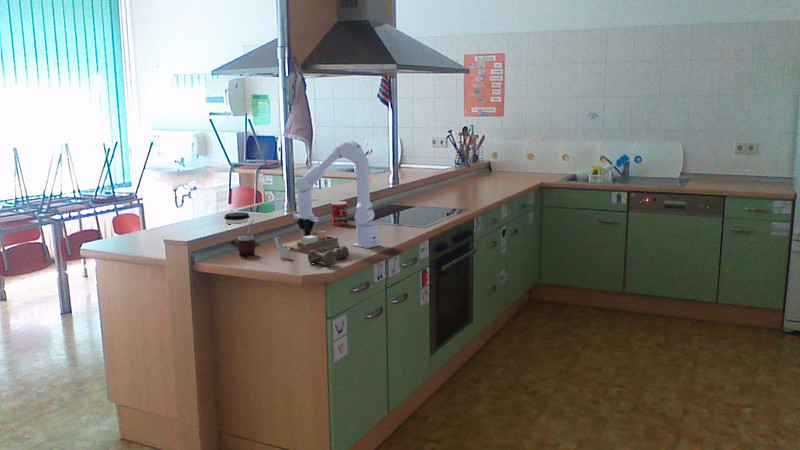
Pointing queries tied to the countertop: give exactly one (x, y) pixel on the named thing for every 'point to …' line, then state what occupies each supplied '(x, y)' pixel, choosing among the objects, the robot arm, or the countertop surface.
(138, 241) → the countertop surface
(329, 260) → the kendama
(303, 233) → the tethered block
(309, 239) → the block
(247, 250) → the mate gourd
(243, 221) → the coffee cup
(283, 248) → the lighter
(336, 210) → the canned food
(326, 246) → the lane rack
